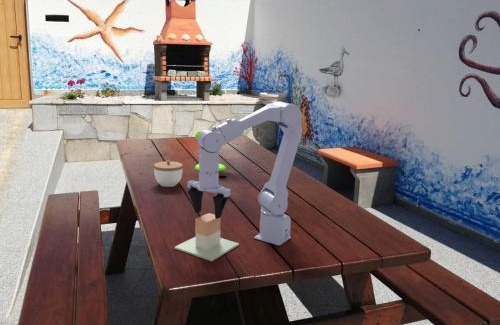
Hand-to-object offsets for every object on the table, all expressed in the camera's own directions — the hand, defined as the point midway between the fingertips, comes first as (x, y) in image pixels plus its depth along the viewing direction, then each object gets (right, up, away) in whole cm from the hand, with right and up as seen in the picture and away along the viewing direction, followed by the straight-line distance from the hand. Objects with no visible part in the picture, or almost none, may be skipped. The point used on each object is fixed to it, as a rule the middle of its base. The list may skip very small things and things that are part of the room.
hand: (207, 214), depth 135 cm
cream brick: (0, -9, +3) cm, 10 cm away
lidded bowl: (-24, +6, +65) cm, 69 cm away
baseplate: (0, -10, +2) cm, 10 cm away
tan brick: (0, -5, +1) cm, 5 cm away
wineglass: (-8, +13, +97) cm, 98 cm away
